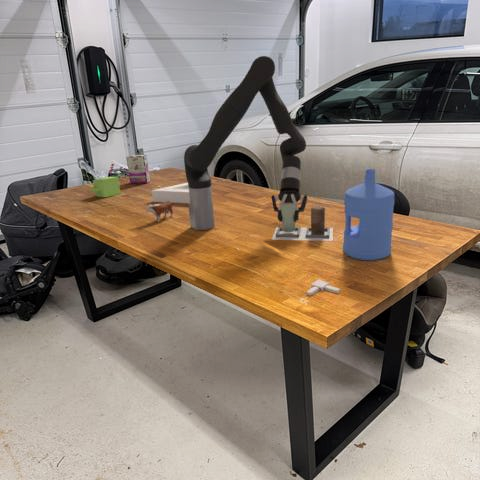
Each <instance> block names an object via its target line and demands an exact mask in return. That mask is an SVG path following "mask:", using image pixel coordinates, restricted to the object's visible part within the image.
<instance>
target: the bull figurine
mask: <svg viewBox="0 0 480 480" xmlns="http://www.w3.org/2000/svg"><path fill="white" fill-rule="evenodd" d="M172 208H173V203H171V202H170V201H167V202H161V203H157V204H156V203H155V204H151V203H149V204H148V205H147V208H146V209H145V211H146V212H147V213H148V212H149V213H152V215H154V216H155V217H156V221H157V223H160V222H161V219H160V218H161V216H162V215H163V218H166V217H167V214H169V212H170V218H173V216H174V215H173V212H174V211H173V209H172Z"/></svg>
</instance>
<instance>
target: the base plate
mask: <svg viewBox="0 0 480 480" xmlns="http://www.w3.org/2000/svg"><path fill="white" fill-rule="evenodd" d="M333 239H334V227H325V234H324V235H314V234H311V226H310V227H309V226H307V227H303V226H302V227H301V226H300V227H299V226H295V231H293V232H284V231H282V226H276V228H275V230H274V232H273V235H272V238H271V240H272V241H273V240H274V241H276V240H278V241H316V242H317V241H320V242H321V241H322V242H333Z"/></svg>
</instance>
